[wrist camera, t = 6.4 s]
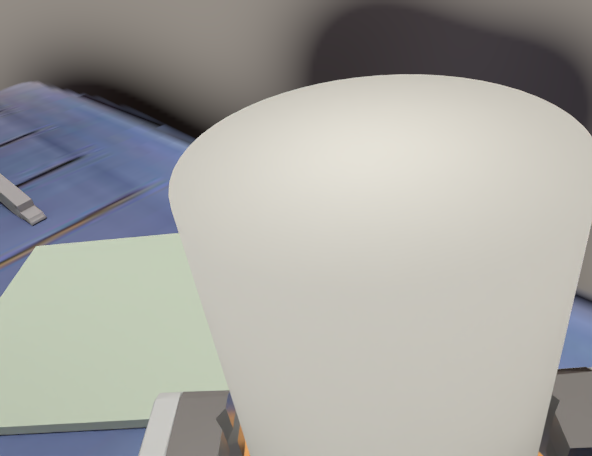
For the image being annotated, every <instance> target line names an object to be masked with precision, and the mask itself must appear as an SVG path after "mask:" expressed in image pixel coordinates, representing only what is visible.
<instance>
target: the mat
mask: <svg viewBox="0 0 592 456" xmlns="http://www.w3.org/2000/svg"><path fill="white" fill-rule="evenodd" d="M217 390H229V388H228V385H227V382H226V379H225V375H224V372H223V369H222V366H221V363H220V360H219V357H218V354H217V350H216V347H215V344H214V341H213V338H212V335H211V332H210V329H209V325H208V322H207V319H206V316H205V313H204V310H203V307H202V304H201V301H200V297H199V294H198V291H197V288H196V285H195V282H194V279H193V276H192V272H191V269H190V266H189V263H188V260H187V257H186V254H185V251H184V247H183V244H182V241H181V238H180V235H179V233H175V234H164V235H153V236H142V237H131V238H121V239H110V240H99V241H88V242H77V243H66V244H56V245H45V246H36V247H35V249H34V250H33V251H32V253H31V254H30V256H29V257H28V259H27V260H26V261H25V263H24V264H23V266H22V267H21V269H20V270H19V272H18V273H17V274H16V276H15V277H14V279H13V280H12V282H11V283H10V284H9V286H8V287H7V289H6V290H5V292H4V293H3V294H2V296H1V297H0V435H9V434H28V433H47V432H66V431H85V430H104V429H123V428H142V427H147V425H148V421H149V418H150V414H151V411H152V408H153V404H154V401H155V399H156V398H157V396H158V395H159V393H168V392H190V391H217Z"/></svg>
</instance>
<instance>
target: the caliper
mask: <svg viewBox="0 0 592 456" xmlns="http://www.w3.org/2000/svg"><path fill="white" fill-rule="evenodd" d="M0 202H1V203H2V204H3V205H5V206H6V207H7V208H8V209H9V210H10V211H11V212H13V213H14V214H15V215H17V216H18V217H20V218H21V219H23V220H24V219H25V220H26V221H27V222H28V223H29V224H31V225H34V224H36V223H37V222H39V221H41V220H43V219H45V218H47V217H46V216H45V215H44V214H43V212H42V211H41V210H40V209H38V208H37V207H36V206H35V205H34V203H33V201H32V199H31V198H30V197H28V196H27V195H26V194H25V193H23V192H22V191H21V190H20V189H18V188H17V187H16V186H15V185H14V184H12V183H11V182H10V181H9V180H7V179H6V178H5V177H4V176H3V175H1V174H0Z"/></svg>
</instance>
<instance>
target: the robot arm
mask: <svg viewBox="0 0 592 456" xmlns="http://www.w3.org/2000/svg"><path fill="white" fill-rule="evenodd" d="M244 452H245V438H244V435H243V432H242V429H241V425H240V422H239V419H238V416H237V413H236V410H235V407H234V404H233V400H232V397H231V394H230V391H229V390H217V391H190V392H168V393H159V395H158V396H157V398H156V399H155V401H154V404H153V408H152V411H151V414H150V418H149V421H148V425H147V428H146V431H145V435H144V438H143V442H142V445H141V448H140V452H139V455H138V456H244ZM539 452H540V453H541V454H542V455H543V456H592V368H587V367H580V368H567V369H558V370H557V374H556V379H555V383H554V387H553V392H552V396H551V400H550V405H549V409H548V413H547V418H546V422H545V426H544V431H543V435H542V439H541V443H540V448H539Z"/></svg>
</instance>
